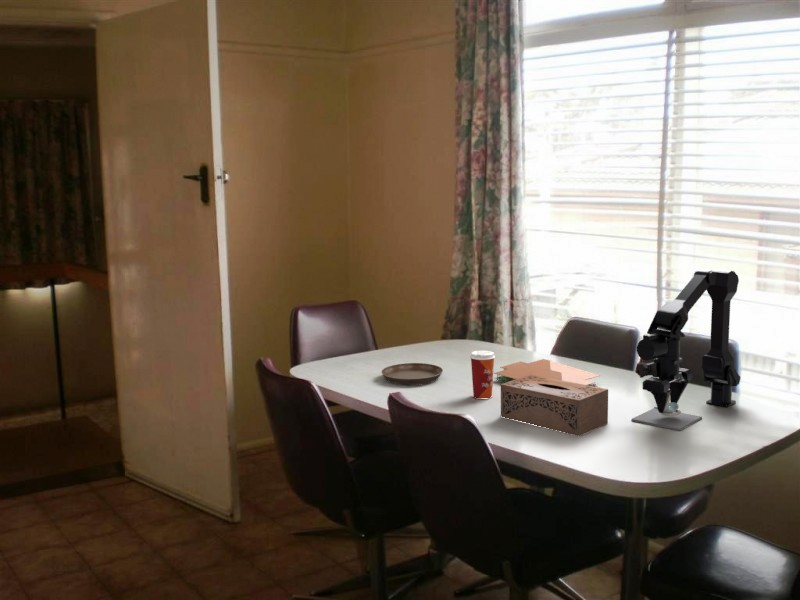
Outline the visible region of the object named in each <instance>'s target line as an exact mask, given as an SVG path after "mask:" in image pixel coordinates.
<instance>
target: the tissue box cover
mask: <svg viewBox="0 0 800 600" xmlns="http://www.w3.org/2000/svg"><path fill="white" fill-rule="evenodd" d="M512 380H513V379H512ZM512 380H510V381H507V382H506V381H505V383H504V382H502V383H501V384H500V417H501V416H502V417H505V418H509V419H514V420H518V421H522V422H526V423H530V424H534V425H537V426H536V427H538V426H541V427H540V428H542V427H546V428H549V429H548V430H550V429H553V430H552V431H555V430H557V431H556V432H559V431H561V432H560V433H563V432H565V433H564V434H567V433H568V434H567V435H571V434H572V436H576V437H581V436H584V435H585V434H588V433H589V432H592V431H594V430H596V429H598V428H601V427H603V426H606V425H608V424H609V423H608V422H609V421H608V420H609V389H608V388H603V387H598V386H595V385H594V386H593V385H583V384H578V383H572V382H567V381H562V380H556V379H551V378H546V377H540V376H535V375H528V376H525V377H522V378H519V379H516V380H515V379H514V380H513V381H512ZM509 419H508V420H509ZM534 425H533V426H534ZM546 428H545V429H546Z"/></svg>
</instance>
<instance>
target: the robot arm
mask: <svg viewBox="0 0 800 600" xmlns="http://www.w3.org/2000/svg"><path fill="white" fill-rule="evenodd" d="M739 280H740V279H739V276H738V274H737V273H736V272H735V271H734V270H727V269H718V268H717V269H716V268H712V269H710V270H709V269H700V268H699V269H698V270H696V271H694V274H693V277H692V278H691V279H690V280H689V282H688V283H687V284H686V285H685V286H684V288H683V289H682V290H681V291H680V292H679V293H678V294H677V296H676V297H675V298H674V299H673V300H672V301H670V302H668V303H666V304H663V305H662V306H661V307H660V308H659V309H658V310H657V311H656V313H655V314H654V316H653V319H652V321H651V323H650V325H649V328H648V330H647V331H646V334H643V335H642V339H641V340H640V341H639V342H638V343H637V345H636V352H637V353H636V354H637V355H638V357H639V358H640V359H641V360H643V361H644V362H640V363H637V364H636V367H635V374H637V375H638V376H639V379H641V378H644V377H648V376H651V375H652V376H651V377H649V378H646V379H645V380H644V381H642V390H644V391H647V392H650V393H651V394H652V396H653V397H654V401H655V405H656V407H657V408H658V411H659V413H663V412H664V409H665V407H666V404H667V401H668V398H669V395H670V397H671V399H670V401H669V402H670V403H671V402H675V403H677V404H678V403H679V400H680V399H681V397H682V395H683V393H684V392H685V389H686V388H687V386H688V384H689V383H690V381H692V380H693V372H692V370H691V369H688V368H684V367H683V368H682V367H680V363H682V362H683V357H681V356H680V353H681V352H680V351H681V338H682V339H683V338H685V336H686V335H685V333H684V332H682V330H683V329H684V327H685V325H686V324H687V322H688V320H689V312H690V310H692V308H693V307H694V305H695V304H696V303H697V302H698V301H699V300H700V298H701V297H702V296H703V295H704V293H705V292H707V294H708V295H709V298H710V300H711V319H710V321H711V322H710V339H709V340H710V341H709V350H708V351H707V353H706V354H703V355H702V357H701V359H702V361H701V362H702V364H701V369H702V375H703V379H704V382H707V383H708V382H709V383H711V385H710V399H709V400H707V401H705V402H706V404H708V405H715V406H720V407H726V408H728V407H730V406H731V405H734V404H735V403H736V400H734V399H733V398H732V395H733V392H732V391H733V387H737V386H738V385H740V382H741V381H740V380H741V376H740V374H739V373H738V371H737V369H736V368H735V363H734V362H735V361H734V359H735V358H733V355H732V354H731V352H730V350H729V344H730V343H729V340H730V319H731V318H730V317H731V301H732V299H733V298H734V297H735V295H736V294H737V291H738V285H739ZM652 360H653V362H647V363H645V361H652Z"/></svg>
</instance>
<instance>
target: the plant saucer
mask: <svg viewBox="0 0 800 600" xmlns="http://www.w3.org/2000/svg"><path fill="white" fill-rule="evenodd" d="M443 371H444V370H443V368H442V367H441V366H440V365H439V366H438V365H435V364H431V363H430V364H429V363H423V362H422V363H421V362H410V363H409V362H407V363H406V362H405V363H399V364H393V365H389V366H386V367H384V368H383V369H382V370H381V374H382V376H383V377H384V378H385V380H387V381H388V382H389V381H390V383H391V382H392V384H394V383H395V385H399V384H400V386H401V385H402V386H420V385H421V384H422V385H427V384H430V383H433V382H435V381H437V380H438V379H439V378H440V377H441V375H442V374H443Z"/></svg>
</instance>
